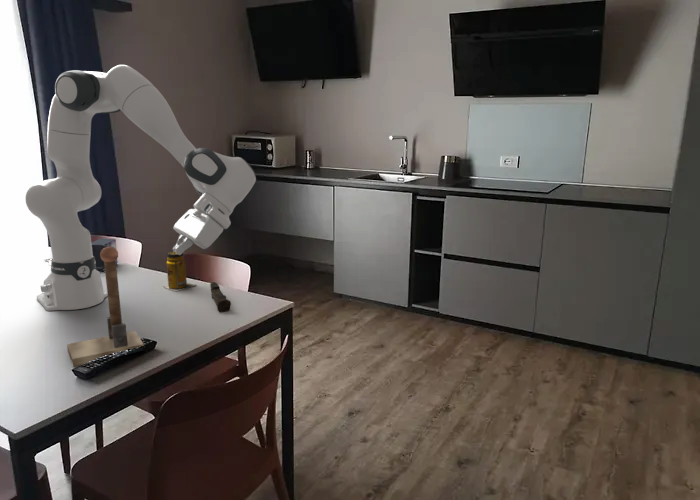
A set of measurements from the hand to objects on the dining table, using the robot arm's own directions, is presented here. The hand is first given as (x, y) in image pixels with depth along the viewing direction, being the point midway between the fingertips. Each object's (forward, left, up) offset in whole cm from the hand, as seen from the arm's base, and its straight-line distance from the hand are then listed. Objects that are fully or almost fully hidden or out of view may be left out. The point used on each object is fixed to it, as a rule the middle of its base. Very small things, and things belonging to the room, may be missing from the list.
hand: (175, 252), depth 142 cm
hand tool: (-14, +23, -23) cm, 35 cm away
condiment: (-37, +25, -23) cm, 50 cm away
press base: (-6, -18, -23) cm, 30 cm away
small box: (-78, +20, -23) cm, 84 cm away
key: (-101, +10, -23) cm, 105 cm away
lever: (-5, -15, -20) cm, 26 cm away
